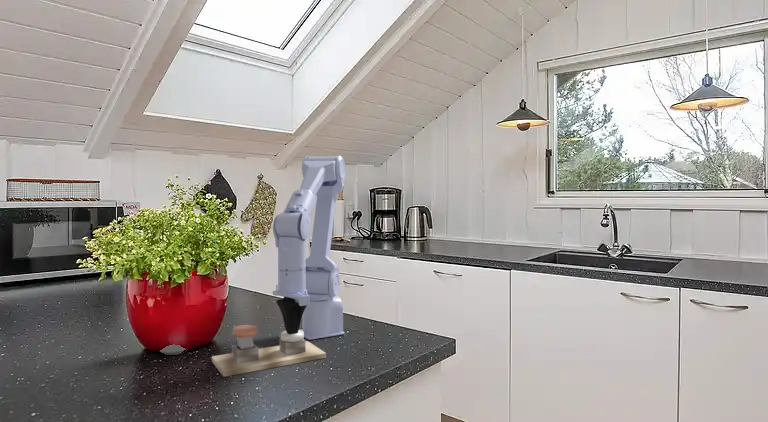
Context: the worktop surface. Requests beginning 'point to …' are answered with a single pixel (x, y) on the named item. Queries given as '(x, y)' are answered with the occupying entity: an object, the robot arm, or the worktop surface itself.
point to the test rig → (266, 357)
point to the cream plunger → (292, 336)
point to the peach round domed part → (245, 335)
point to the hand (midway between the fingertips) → (292, 333)
